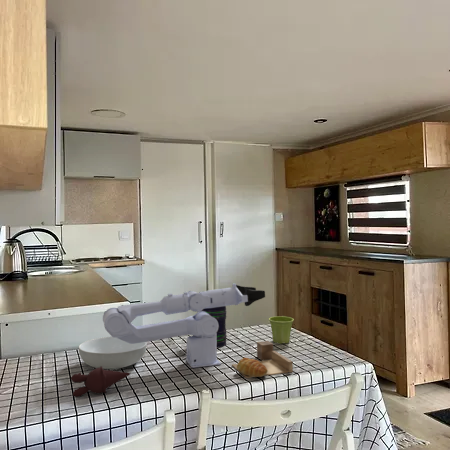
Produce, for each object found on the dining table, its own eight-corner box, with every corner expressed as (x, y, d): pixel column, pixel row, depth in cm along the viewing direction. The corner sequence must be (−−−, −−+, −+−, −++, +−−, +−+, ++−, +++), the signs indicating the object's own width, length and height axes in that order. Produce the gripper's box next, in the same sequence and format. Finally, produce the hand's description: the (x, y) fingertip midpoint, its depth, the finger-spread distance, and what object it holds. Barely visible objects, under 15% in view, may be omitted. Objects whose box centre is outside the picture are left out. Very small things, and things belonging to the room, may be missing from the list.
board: (246, 378, 125) (246, 367, 125) (231, 365, 137) (231, 355, 137) (292, 371, 130) (292, 361, 130) (275, 360, 141) (275, 350, 141)
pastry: (273, 374, 127) (273, 361, 127) (258, 380, 122) (257, 367, 122) (249, 367, 134) (249, 354, 134) (234, 372, 129) (233, 359, 129)
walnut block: (262, 360, 142) (261, 345, 142) (257, 357, 145) (257, 342, 145) (273, 359, 143) (273, 344, 143) (268, 355, 147) (267, 340, 147)
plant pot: (297, 340, 165) (297, 317, 165) (287, 346, 157) (287, 322, 157) (275, 337, 170) (275, 315, 170) (264, 343, 162) (264, 319, 162)
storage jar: (195, 342, 163) (195, 303, 163) (218, 339, 168) (218, 300, 168) (207, 349, 155) (207, 307, 155) (231, 345, 159) (231, 304, 159)
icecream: (125, 360, 122) (69, 372, 116) (130, 360, 116) (70, 373, 110) (129, 385, 121) (72, 399, 115) (133, 387, 114) (73, 402, 108)
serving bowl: (142, 375, 128) (142, 352, 128) (70, 377, 127) (69, 354, 127) (150, 354, 149) (150, 334, 149) (88, 356, 148) (88, 336, 148)
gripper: (227, 288, 134) (267, 283, 139) (214, 282, 148) (251, 277, 152) (229, 311, 134) (269, 305, 139) (215, 303, 148) (252, 297, 152)
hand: (260, 292), depth 146 cm, fingers open, 7 cm apart
